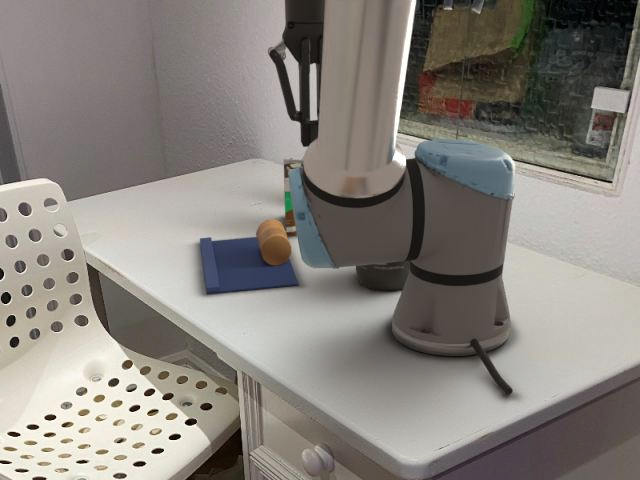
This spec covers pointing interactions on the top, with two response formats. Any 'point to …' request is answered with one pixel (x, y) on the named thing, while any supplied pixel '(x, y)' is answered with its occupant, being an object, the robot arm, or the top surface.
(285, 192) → the food container
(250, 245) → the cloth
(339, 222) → the robot arm
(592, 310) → the top surface
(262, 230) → the roller
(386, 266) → the jar
